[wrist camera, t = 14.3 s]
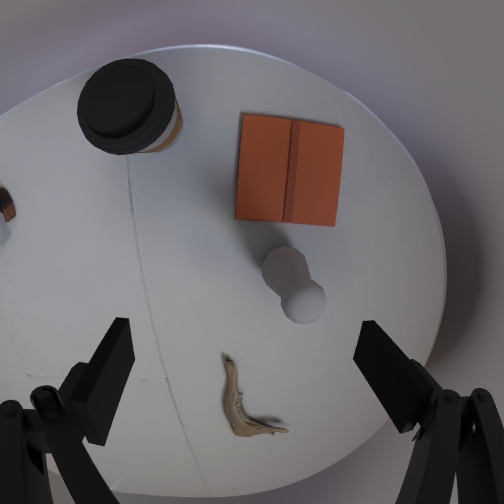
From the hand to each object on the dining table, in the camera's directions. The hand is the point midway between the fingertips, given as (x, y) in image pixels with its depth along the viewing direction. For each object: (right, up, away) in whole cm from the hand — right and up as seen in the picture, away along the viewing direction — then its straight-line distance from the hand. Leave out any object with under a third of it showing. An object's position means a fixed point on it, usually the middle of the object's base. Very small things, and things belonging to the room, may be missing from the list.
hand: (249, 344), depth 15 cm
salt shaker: (+4, +3, +24) cm, 24 cm away
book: (+5, +15, +20) cm, 26 cm away
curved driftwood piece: (+1, -20, +30) cm, 35 cm away
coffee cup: (-11, +20, +17) cm, 29 cm away
